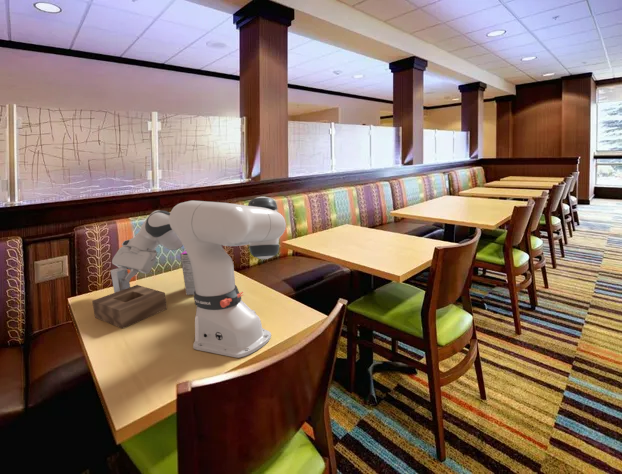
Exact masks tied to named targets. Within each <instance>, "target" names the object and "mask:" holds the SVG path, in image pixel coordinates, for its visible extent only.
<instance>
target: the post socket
mask: <svg viewBox="0 0 622 474" xmlns="http://www.w3.org/2000/svg"><path fill="white" fill-rule="evenodd" d="M166 298H167V297H166V292H164V291H160V290H156V289H153V288H149V287H146V286H143V285H139V284H136V285H133V286H130V288H127V289H124V290H121V291H118V292H115V293H114V292H113V293H110V294H107V295H105V296H102V297H101V296H100V297H99V298H96V299H93V300H91V302H92V308H93V313H94V314H93V315H94V318H95V319H98V320H100V321H103V322H105V323H108V324H111V325H112V326H116V327H118V328H120V329H125V328H128V327H130V326H132V325H134V324H136V323H139V322H140V321H143V320H145V319H148V318H150V317H152V316H154V315H157V314H159V313H161V312H163V311H165V310H167V309H168V307H167V306H168V305H167V299H166Z"/></svg>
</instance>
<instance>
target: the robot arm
mask: <svg viewBox="0 0 622 474" xmlns="http://www.w3.org/2000/svg"><path fill="white" fill-rule="evenodd" d="M286 227H287V224H286V219H285V217H284V215H282V214H281V213H280V212H278V205H277V203H276V200H274V199H273V198H271V197H267V196H257V197H255V198H251V200H249V202H248V204H247V205H244V204H237V203H229V202H221V201H220V202H219V201H206V200H205V201H204V200H188V201H184V202H183V201H182V202H180V203H177V204H176V205H175V206H173V208H172V209H171V211H167V210H159V209H158V210H154V211H152V212H151V213H150V214H149V215H148V216H147V218H145V221H143V223H142V225H141V227H140V230H139V231H138V232H137V233H136V234H135V235H134V237H132V238H130V239H126V240H124V241H122V243H121V247H120V248H118V250H117V251H116V252H115V254H114V256H113V257H112V259H111V263H112V265H114V266H116V268H120V267H122V268H127V270H129V272H128V275H125V277H124V278H123V279H124V280H125V281H128V282H129V283H130V281H131V280H132V278H133V277H135V276H136V275H137V274H138V273H140V274H141V273H142V274H144V275H148V274H149V273H150V271H151V270H152V268H153V267H154V264H155V262H156V259H157V258H156V257H157V255H158V252H157V250H156V249H157V247H158V246H159V245H161V246H163V247H164V248H166V249H167V250H170V251H176V250H179V249H181V248H182V247H184V249H185V250H186V252H187V254H188V257H189V260H190V263H191V266H192V271H193V278H194V285H195V291H194V295H193V300H194V305H195V306H196V313H195V316H194V333H195V334H194V342H193V345H192V347H193V349H194V350H197V351H202V352H206V353H212V354H217V355H222V356H226V357H232V358H235V359H236V358H239V359H240V358H243V357H247V356H249V355H251V354H253V353H254V352H257V351H258V350H259V349H261V348H262V347H264V346H265V345H266V344H268V342H269V341H270V340H271V337H272V333H271V331H269V330H267V329H265V328H264V327H263V326H262V320H261V318H260V316H259V315H257V313H256V311H255V309H251V308H250V307H249V306H248V305H247V304H246V303H245V302H244V301H243V300H242V297H243V296H244V292H243V291H241V292H240V291H239V288H238V286H237V285H236V279H235V278H236V277H235V269H234V268H235V266H234V261H233V259H232V257H231V256H230V255H229V254H228V253H227V252H226V251H225V249H224V247H238V246H247V245H249V246H248V249H249V252H250V254H251V255H252V256H253V257H254V258H257V259H260V260H267V259H271V258H273V257H275V256H277V255H278V253H279V249H280V244H279V242H280V238H281V236H283V234H284V233H285V231H286ZM223 246H224V247H223ZM185 250H184V251H185Z"/></svg>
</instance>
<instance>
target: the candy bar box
mask: <svg viewBox="0 0 622 474" xmlns="http://www.w3.org/2000/svg"><path fill="white" fill-rule="evenodd" d="M179 255H180V259H181V260H180V261H181V269H182V274H183V283H184V289H185V295H186V296H194V291H195V285H194V278H193V271H192V266H191V263H190V260H189V257H188V254H187V252H186V250H184V251H182V252H181V253H180V254H179Z"/></svg>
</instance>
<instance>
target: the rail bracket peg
mask: <svg viewBox="0 0 622 474" xmlns="http://www.w3.org/2000/svg"><path fill="white" fill-rule="evenodd" d="M128 274H129V271H128V269H127V268H122V267H120V268H119V267H116V268H114V269H110V275H111V281H112V286H113V287H112V288H113V293H115V292H118V291H121V290H124V289H127V288H130V287H131V284H130V281H129V282H128V281H125V280H124V279H123V278H124V277H125V275H128Z"/></svg>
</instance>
